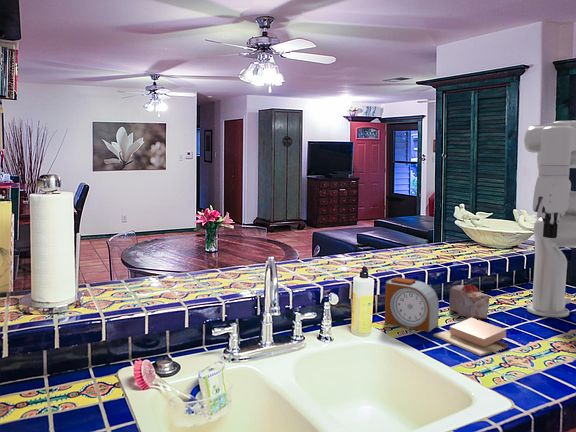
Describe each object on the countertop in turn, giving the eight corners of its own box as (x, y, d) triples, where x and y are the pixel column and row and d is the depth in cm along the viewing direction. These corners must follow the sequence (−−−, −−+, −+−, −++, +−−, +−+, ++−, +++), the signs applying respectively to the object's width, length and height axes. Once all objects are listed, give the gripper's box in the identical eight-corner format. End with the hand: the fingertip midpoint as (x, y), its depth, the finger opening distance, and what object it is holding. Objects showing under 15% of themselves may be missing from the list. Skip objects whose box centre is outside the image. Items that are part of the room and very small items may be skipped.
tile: (471, 317, 161) (449, 326, 156) (505, 329, 150) (483, 339, 146) (471, 325, 161) (450, 334, 157) (506, 337, 151) (484, 347, 147)
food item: (492, 320, 171) (494, 289, 170) (471, 323, 169) (473, 292, 167) (464, 307, 184) (465, 279, 183) (444, 310, 181) (445, 281, 180)
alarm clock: (382, 323, 169) (383, 280, 167) (393, 315, 175) (394, 274, 174) (428, 332, 160) (429, 287, 158) (438, 324, 167) (439, 281, 165)
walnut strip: (459, 329, 162) (459, 325, 162) (507, 348, 148) (507, 344, 148) (456, 330, 162) (456, 326, 161) (504, 349, 147) (504, 345, 147)
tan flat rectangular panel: (456, 330, 162) (456, 328, 162) (504, 349, 147) (504, 347, 147) (433, 336, 157) (433, 334, 157) (480, 356, 142) (480, 353, 142)
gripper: (558, 170, 156) (554, 233, 159) (524, 172, 149) (520, 237, 152) (583, 171, 150) (578, 237, 152) (549, 173, 143) (544, 242, 145)
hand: (549, 237), depth 152 cm, fingers closed
